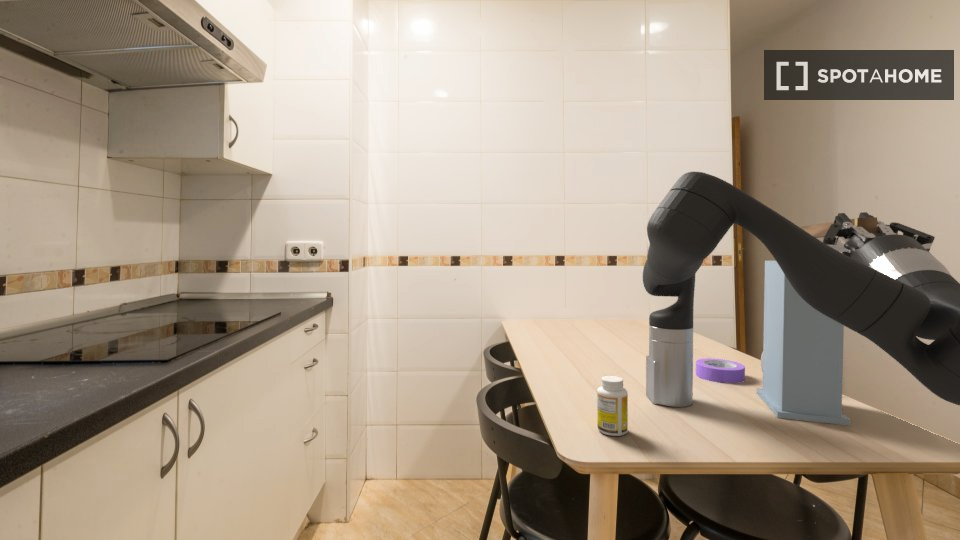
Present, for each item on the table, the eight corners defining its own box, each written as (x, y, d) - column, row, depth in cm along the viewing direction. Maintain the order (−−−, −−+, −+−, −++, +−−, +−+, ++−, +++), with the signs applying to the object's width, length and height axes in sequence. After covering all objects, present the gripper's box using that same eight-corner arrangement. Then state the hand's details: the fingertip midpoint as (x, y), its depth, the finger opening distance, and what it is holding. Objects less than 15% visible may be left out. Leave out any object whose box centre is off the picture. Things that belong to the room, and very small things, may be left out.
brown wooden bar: (857, 233, 66) (857, 217, 66) (800, 238, 89) (800, 226, 88) (876, 233, 65) (877, 217, 65) (814, 238, 88) (814, 226, 88)
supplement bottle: (620, 424, 84) (620, 373, 84) (632, 436, 79) (633, 382, 78) (592, 426, 84) (592, 375, 83) (603, 438, 78) (603, 383, 78)
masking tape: (754, 384, 110) (754, 369, 110) (709, 384, 110) (709, 369, 110) (729, 371, 122) (729, 358, 121) (688, 371, 122) (688, 358, 122)
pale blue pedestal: (777, 417, 87) (780, 254, 86) (756, 393, 102) (758, 254, 101) (849, 425, 83) (854, 254, 82) (816, 398, 98) (820, 253, 97)
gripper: (982, 248, 53) (911, 194, 67) (844, 250, 58) (804, 199, 71) (959, 297, 57) (895, 236, 70) (831, 295, 61) (795, 238, 75)
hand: (850, 218), depth 71 cm, fingers closed on brown wooden bar, 2 cm apart
